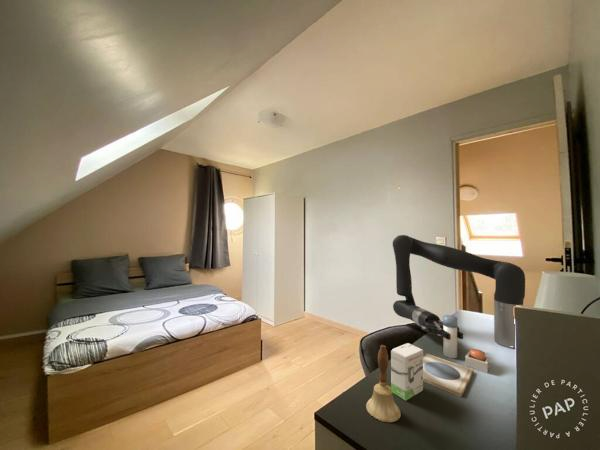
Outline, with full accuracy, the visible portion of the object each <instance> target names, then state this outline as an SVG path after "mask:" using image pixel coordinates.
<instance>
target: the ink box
mask: <svg viewBox="0 0 600 450" xmlns="http://www.w3.org/2000/svg"><path fill="white" fill-rule="evenodd" d="M423 357H424V350H423V349H422V348H419V347H418V346H416V345H413V344H411V343H409V342H407V343H404V344H402V345H399V346H397V347H394V348H392V350H390V362H391V363H390V365H391V367H390V377H391V378H390V388H391V389H392V394H394V395H396V396H398V397H399V398H401V399H402V400H404V401H406V402H407V401H408V400H410V399H412V398H413V397H415V396H416V395H418V394H419V393H421V392H422V391H424V381H423Z"/></svg>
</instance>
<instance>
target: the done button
mask: <svg viewBox="0 0 600 450" xmlns="http://www.w3.org/2000/svg"><path fill="white" fill-rule="evenodd" d="M469 351H470V355H471V357H472V358H474V359H477V360H485V356H486V353H485V351H483V350H481V349H477V348H471V349H470V350H469Z"/></svg>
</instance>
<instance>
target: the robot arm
mask: <svg viewBox="0 0 600 450" xmlns="http://www.w3.org/2000/svg"><path fill="white" fill-rule="evenodd" d="M392 249H393V254H394V261H395V266H396V270H395V272H396V273H395V274H396V275H395V276H396V277H395V278H396V281H395V282H396V283H395V284H396V294H397V295H398V296H400V297H404V298H405V299H401V300H395V302H393V304H392V309H393V311H394V313H395V314H396V315H397V316H399V317H401V318H404V319H407V320H410V321H412V322H413V323H414V324H416V325H417V326H418V327H421V330H422V332H425V333H428V334H430V335H432V336H439V337H442V338H443V337H444V338H446V339H448V340H450V339H451V335H450V333H448V332H446V331H444V330H443V320H441V319H440V317H439V316H438V315H437V314H435V313H433V312H431V311H429V310H427V309H425V308H421V307H420V306H417V304H416V302H415V298H414V294H413V286H412V285H413V282H412V281H413V280H412V275H411V268H410V267H411V266H410V262H411V261H410V260H411V259H410V258H411V257H410V256H411V255H413V256H418V257H422V258H424V259H426V260H428V261H431V262H432V263H435V264H438V265H440V266H443V267H447V268H450V269H453V270H456V271H457V270H458V271H463V272H470V273H476V274H479V275H483V276H485V277H488V278H490V279H493V280H495V289H494V293H493V301H494V302H493V312H494V313H493V318H494V319H493V324H494V325H493V326H494V327H493V331H494V333H493V335H494V336H493V340H494V341H493V342H496V343H497V344H499V345H501V346H503V347H505V348H506V347H507V348H510V347H509V346H513V348H512V349H516V348H515V324H514V316H513V307H514V306H516V305H521V306H523V307H524V300H525V297H526V274H525V271H524V270H523V269H522V268H521V267H520V266H519V265H516V264H514V263H512V262H508V261H502V260H494V259H491V258H490V259H489V258H485V257H481V256H478V255H476V254H474V253H471V252H469V251H468V252H467V251H464V250H461V249H459V248H455V247H451V246H447V245H442V244H437V243H431V242H426V241H422V240H419V239H416V238H414V237H411V236H409V235H406V234H401V235H397V236H396V237H394V238H393V240H392ZM457 339H459V340H463V339H464V333H463V332H462V331H460V327H459V326H458V325H457Z"/></svg>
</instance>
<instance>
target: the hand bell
mask: <svg viewBox="0 0 600 450" xmlns="http://www.w3.org/2000/svg"><path fill="white" fill-rule="evenodd" d="M379 347H380V348H379V350H378V353H377V363H378V367H379V368H378V369H379V382H378V383H376V384H375V385H373V392H372V396H371V397H370V398H369V399H368V400H367V402H366V404H365V408H366V411H367V412H368V413H369V415H370V416H371V417H372V416H373V418H374V419H375V420H377V419H378V421H379V422H383V423H394V422H396V421H399V419H400V418H401V416H402V415H401V413H402V412H401V409H400V407H399V406H398V405H397V403H396V402H395V399H394V396H393V394H394V393H393V392H392V389H391V386H390V385H387V370H388V367H389V353H388V350H387V346H386V345H384V344H381V345H380V346H379Z"/></svg>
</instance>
